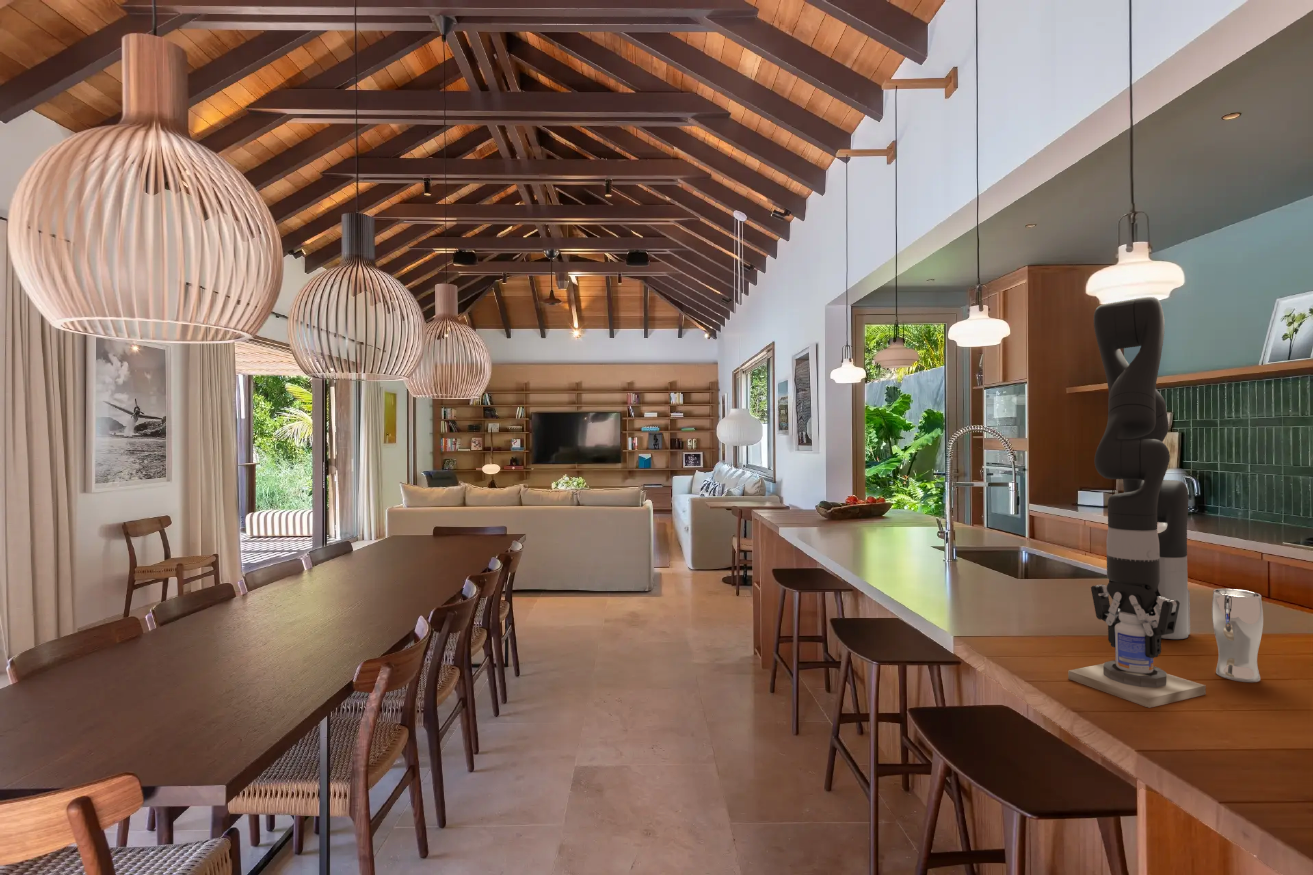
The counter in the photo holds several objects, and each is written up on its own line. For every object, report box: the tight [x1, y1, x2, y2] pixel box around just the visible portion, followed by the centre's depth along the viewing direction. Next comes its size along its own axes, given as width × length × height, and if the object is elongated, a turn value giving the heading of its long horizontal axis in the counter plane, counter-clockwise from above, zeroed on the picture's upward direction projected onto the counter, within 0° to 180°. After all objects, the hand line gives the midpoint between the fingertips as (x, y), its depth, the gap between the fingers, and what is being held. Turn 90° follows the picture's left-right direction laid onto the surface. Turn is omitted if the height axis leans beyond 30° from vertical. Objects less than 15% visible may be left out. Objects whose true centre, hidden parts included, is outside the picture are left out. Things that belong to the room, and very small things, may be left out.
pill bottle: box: [1114, 611, 1154, 674], centre depth 118 cm, size 5×5×10 cm
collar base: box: [1067, 659, 1207, 709], centre depth 118 cm, size 14×14×3 cm
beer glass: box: [1211, 588, 1264, 683], centre depth 122 cm, size 7×7×15 cm
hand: (1133, 651), depth 118 cm, fingers closed on pill bottle, 5 cm apart
